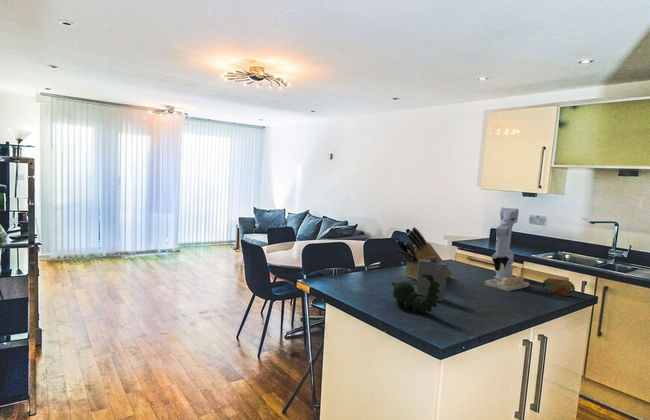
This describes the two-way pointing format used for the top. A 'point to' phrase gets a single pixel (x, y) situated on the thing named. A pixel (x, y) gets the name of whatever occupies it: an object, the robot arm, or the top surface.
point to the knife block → (417, 252)
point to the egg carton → (498, 284)
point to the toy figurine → (416, 295)
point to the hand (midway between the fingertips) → (499, 270)
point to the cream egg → (500, 269)
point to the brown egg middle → (513, 280)
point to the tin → (558, 286)
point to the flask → (436, 271)
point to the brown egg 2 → (520, 279)
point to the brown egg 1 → (506, 282)
